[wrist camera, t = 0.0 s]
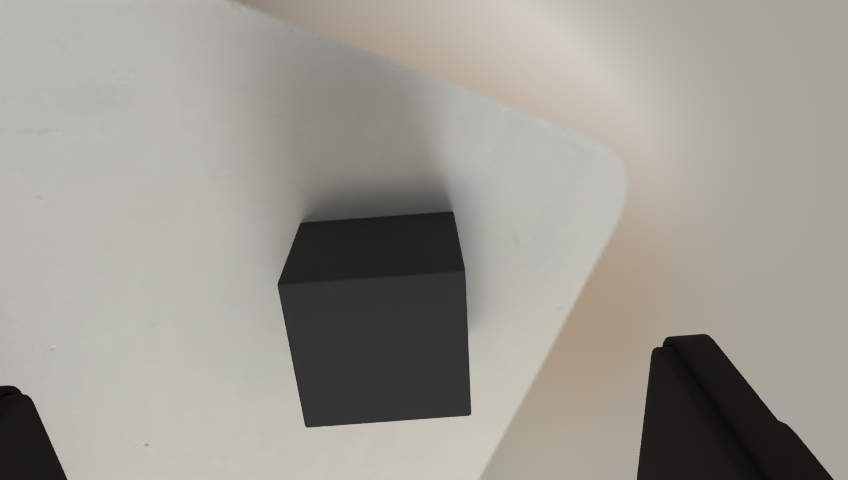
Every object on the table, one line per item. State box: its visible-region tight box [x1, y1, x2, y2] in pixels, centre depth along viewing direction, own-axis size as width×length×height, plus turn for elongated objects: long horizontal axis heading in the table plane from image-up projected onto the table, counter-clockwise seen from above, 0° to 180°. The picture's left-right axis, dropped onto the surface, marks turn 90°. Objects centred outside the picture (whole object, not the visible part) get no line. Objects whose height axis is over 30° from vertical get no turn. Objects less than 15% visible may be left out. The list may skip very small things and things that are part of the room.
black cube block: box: [278, 212, 471, 427], centre depth 23 cm, size 6×6×5 cm
